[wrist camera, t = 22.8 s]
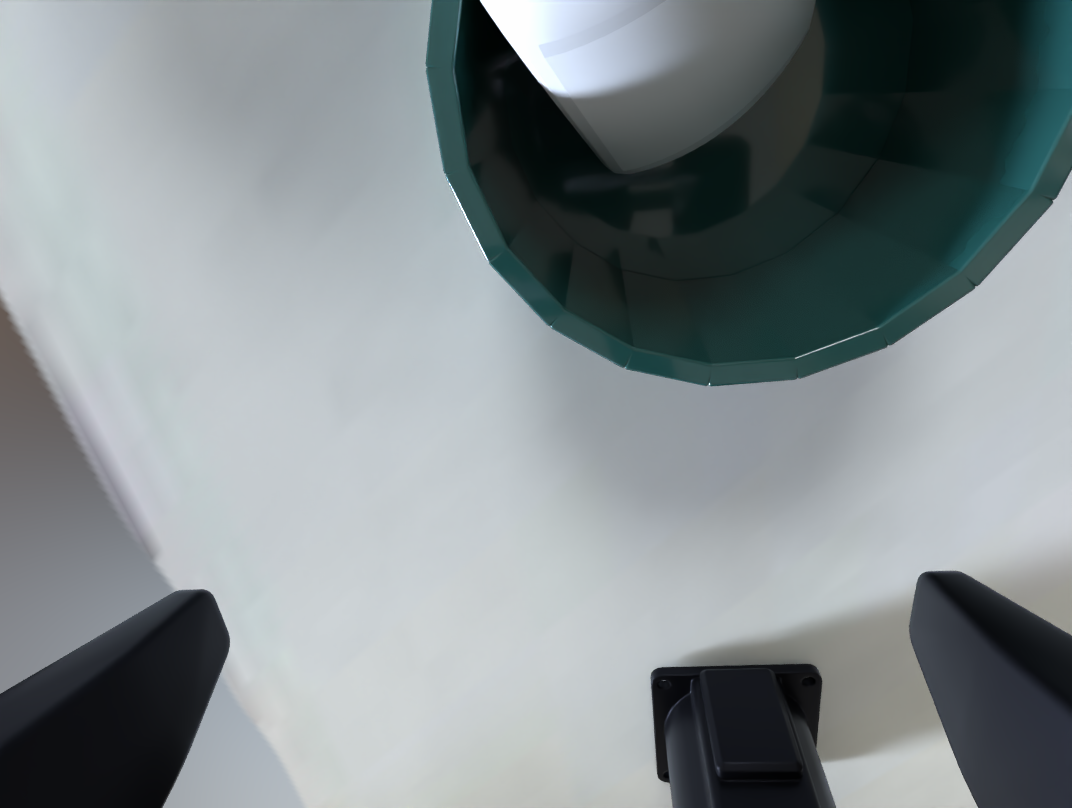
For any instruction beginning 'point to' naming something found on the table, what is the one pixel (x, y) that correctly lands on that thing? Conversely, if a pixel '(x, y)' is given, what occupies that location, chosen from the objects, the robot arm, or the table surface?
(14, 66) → the table surface
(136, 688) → the robot arm
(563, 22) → the eye dropper bottle
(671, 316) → the canister
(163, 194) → the table surface
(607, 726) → the table surface
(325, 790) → the table surface
